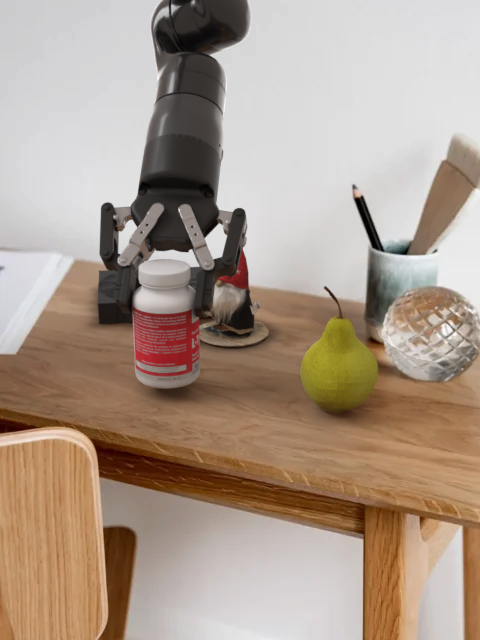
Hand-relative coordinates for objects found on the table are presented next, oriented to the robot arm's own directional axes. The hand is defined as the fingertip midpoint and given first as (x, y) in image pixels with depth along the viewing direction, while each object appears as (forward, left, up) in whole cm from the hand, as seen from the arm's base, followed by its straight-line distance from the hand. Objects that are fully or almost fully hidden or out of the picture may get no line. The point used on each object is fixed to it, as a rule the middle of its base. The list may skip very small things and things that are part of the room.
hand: (162, 311), depth 76 cm
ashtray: (+1, +26, -9) cm, 27 cm away
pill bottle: (0, +2, -8) cm, 8 cm away
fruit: (+16, -4, -9) cm, 18 cm away
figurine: (+8, +15, -9) cm, 19 cm away
